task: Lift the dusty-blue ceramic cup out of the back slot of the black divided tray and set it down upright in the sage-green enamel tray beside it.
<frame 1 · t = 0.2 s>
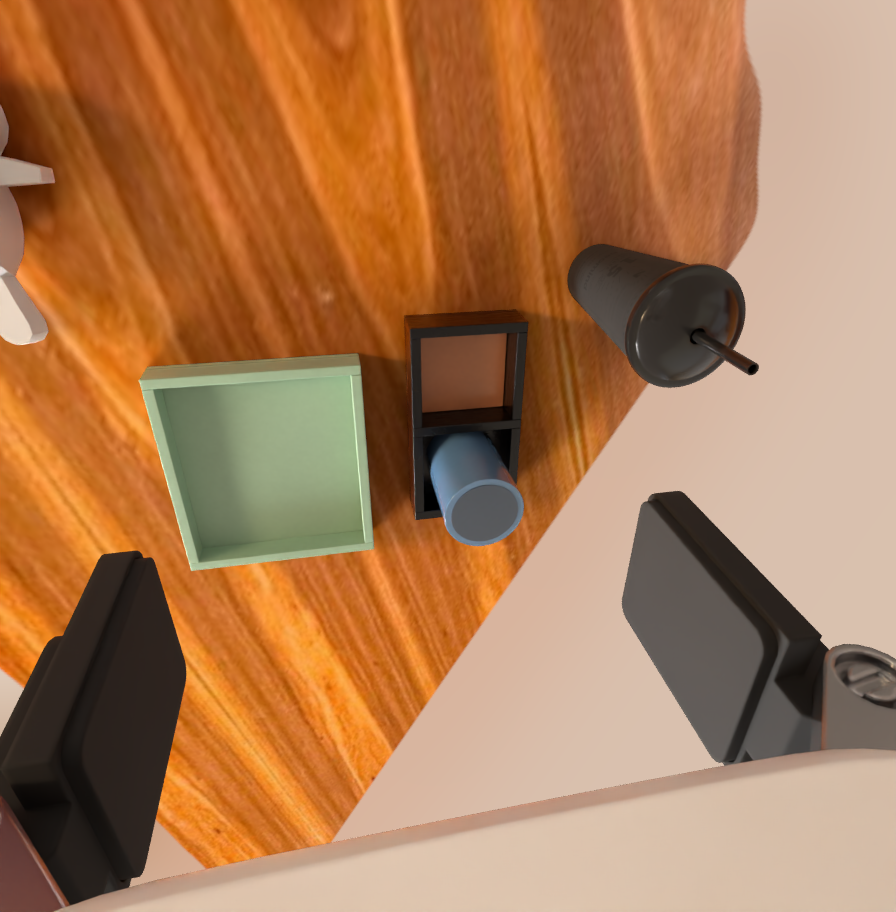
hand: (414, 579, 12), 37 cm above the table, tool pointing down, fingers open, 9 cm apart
drinking cup: (595, 274, 48), on the table
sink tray: (272, 458, 50), on the table
blue cup: (459, 455, 53), resting on black divided tray
black divided tray: (459, 410, 52), on the table
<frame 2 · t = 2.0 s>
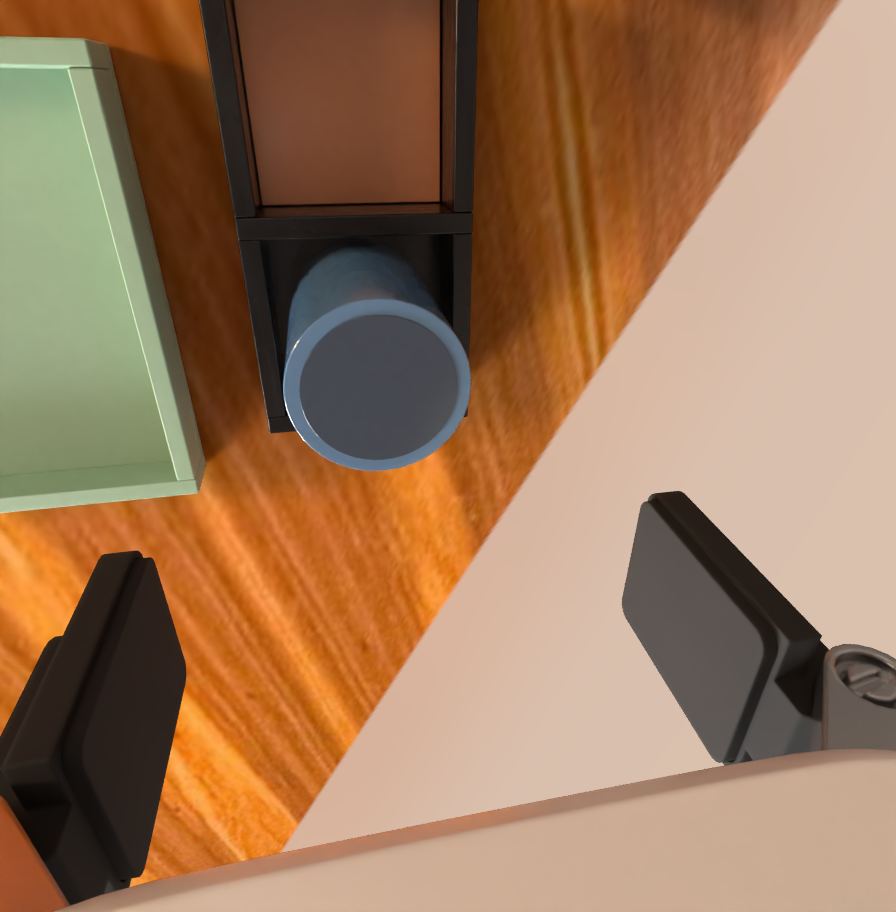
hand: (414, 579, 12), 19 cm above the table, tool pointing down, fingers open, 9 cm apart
blue cup: (360, 309, 27), resting on black divided tray
black divided tray: (353, 212, 26), on the table
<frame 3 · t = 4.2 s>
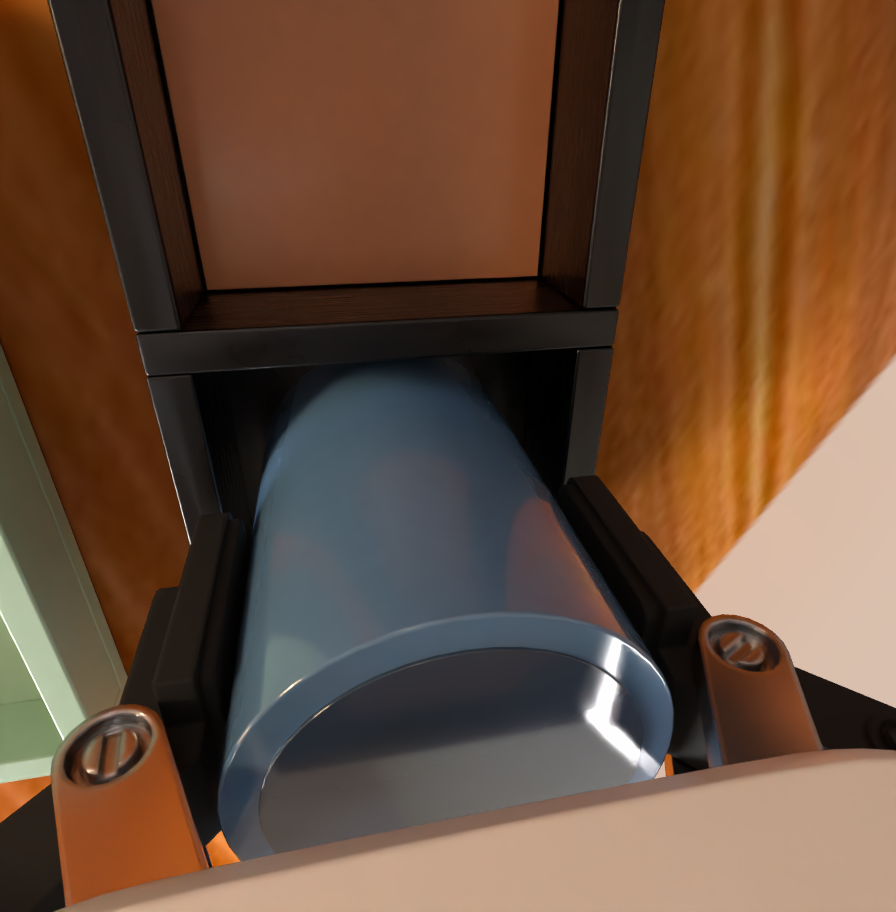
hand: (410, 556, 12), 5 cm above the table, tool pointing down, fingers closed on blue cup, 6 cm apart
blue cup: (388, 456, 16), point 1 cm above the table, touching black divided tray, gripper
black divided tray: (378, 295, 14), on the table
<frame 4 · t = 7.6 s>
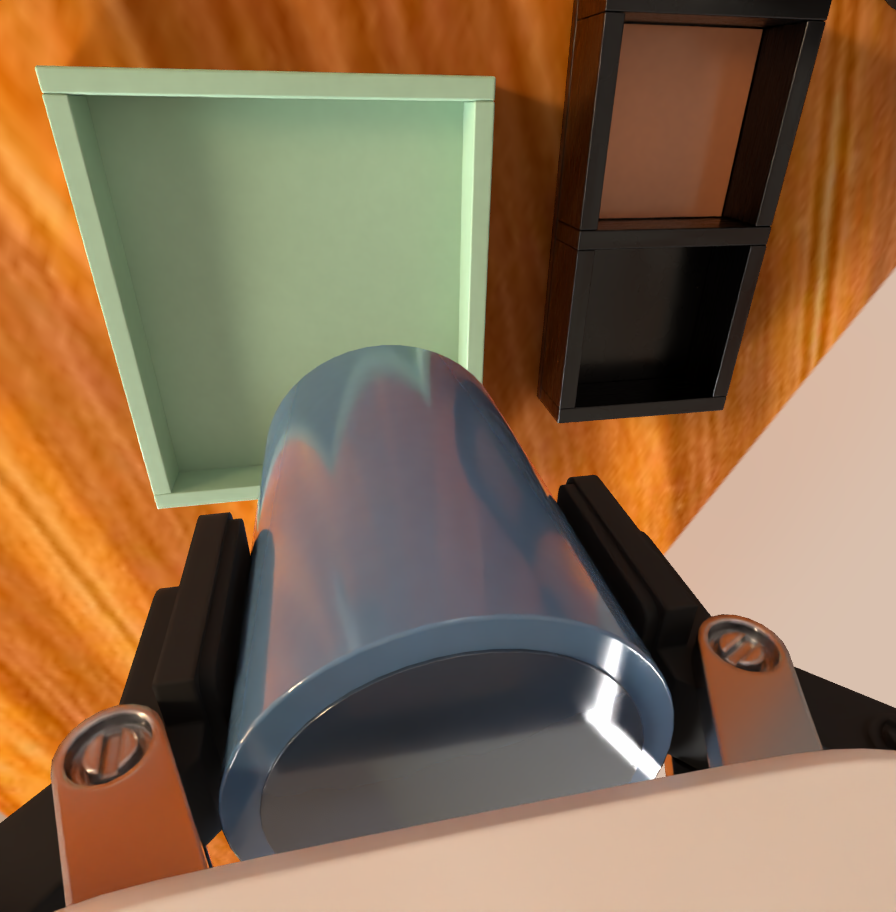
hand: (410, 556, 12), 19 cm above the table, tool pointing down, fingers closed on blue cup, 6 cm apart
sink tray: (306, 301, 28), on the table
blue cup: (388, 457, 16), point 14 cm above the table, touching gripper
black divided tray: (641, 225, 29), on the table
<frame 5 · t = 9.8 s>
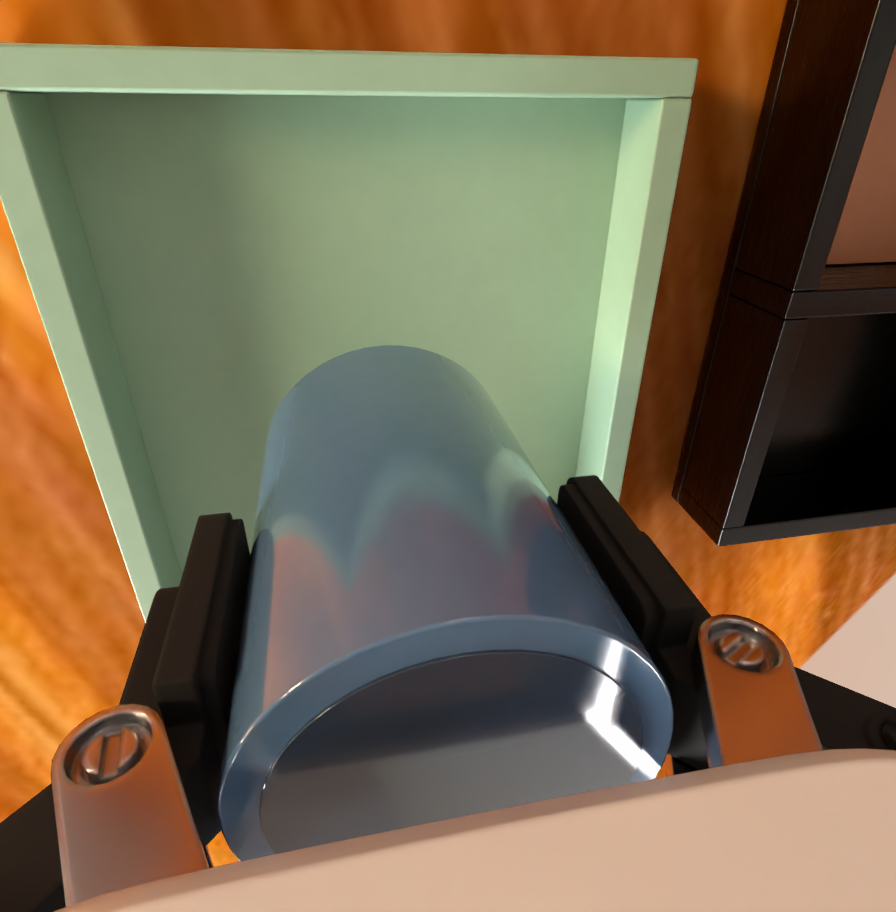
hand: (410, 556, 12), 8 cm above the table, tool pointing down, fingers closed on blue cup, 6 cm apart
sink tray: (374, 387, 19), on the table
blue cup: (388, 458, 16), point 4 cm above the table, touching gripper
black divided tray: (841, 272, 20), on the table
when the fingers open (5 cm above the table, at t = 11.3 s): blue cup stays where it is, resting on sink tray.
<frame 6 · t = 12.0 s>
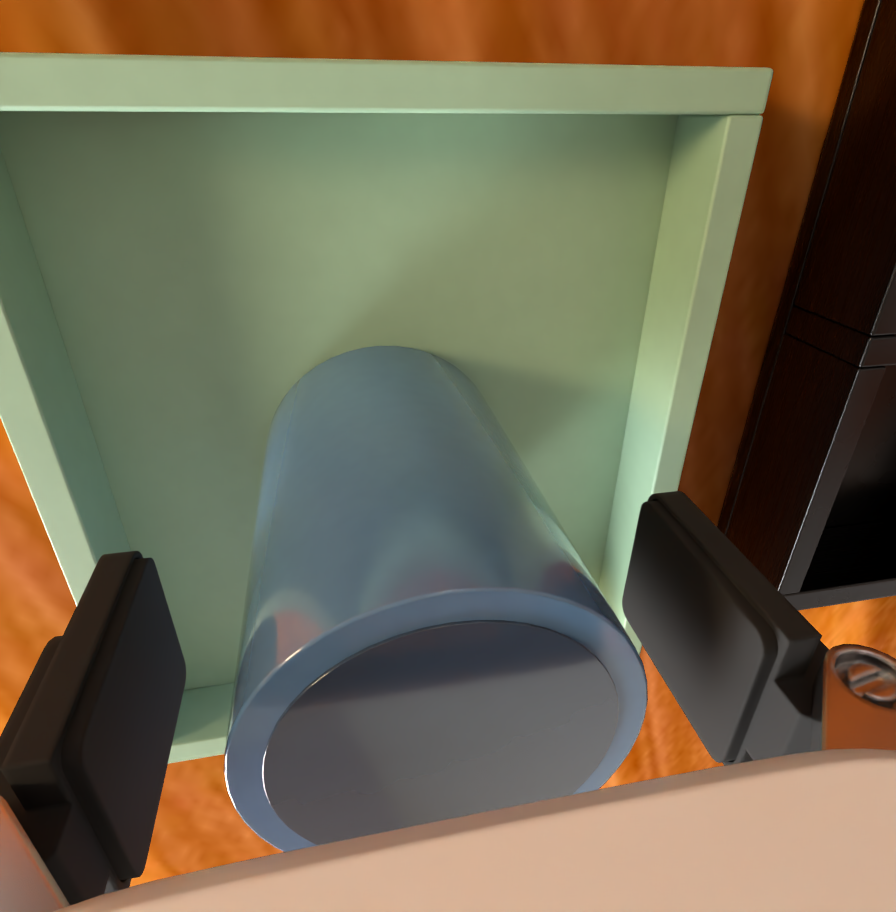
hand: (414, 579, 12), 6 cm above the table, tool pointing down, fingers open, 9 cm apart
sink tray: (382, 440, 17), on the table
blue cup: (384, 454, 16), point 1 cm above the table, touching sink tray
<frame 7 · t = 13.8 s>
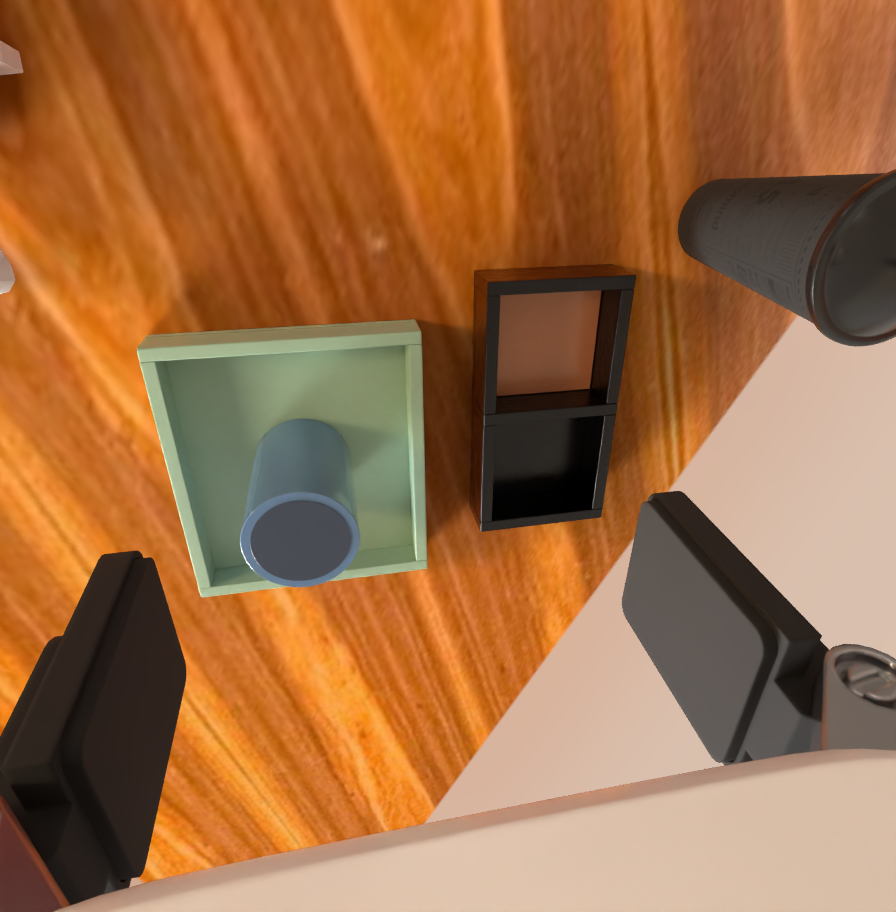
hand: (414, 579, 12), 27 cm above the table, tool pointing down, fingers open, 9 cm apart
drinking cup: (711, 220, 38), on the table
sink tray: (303, 455, 40), on the table
blue cup: (303, 460, 40), point 1 cm above the table, touching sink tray
black divided tray: (535, 395, 41), on the table
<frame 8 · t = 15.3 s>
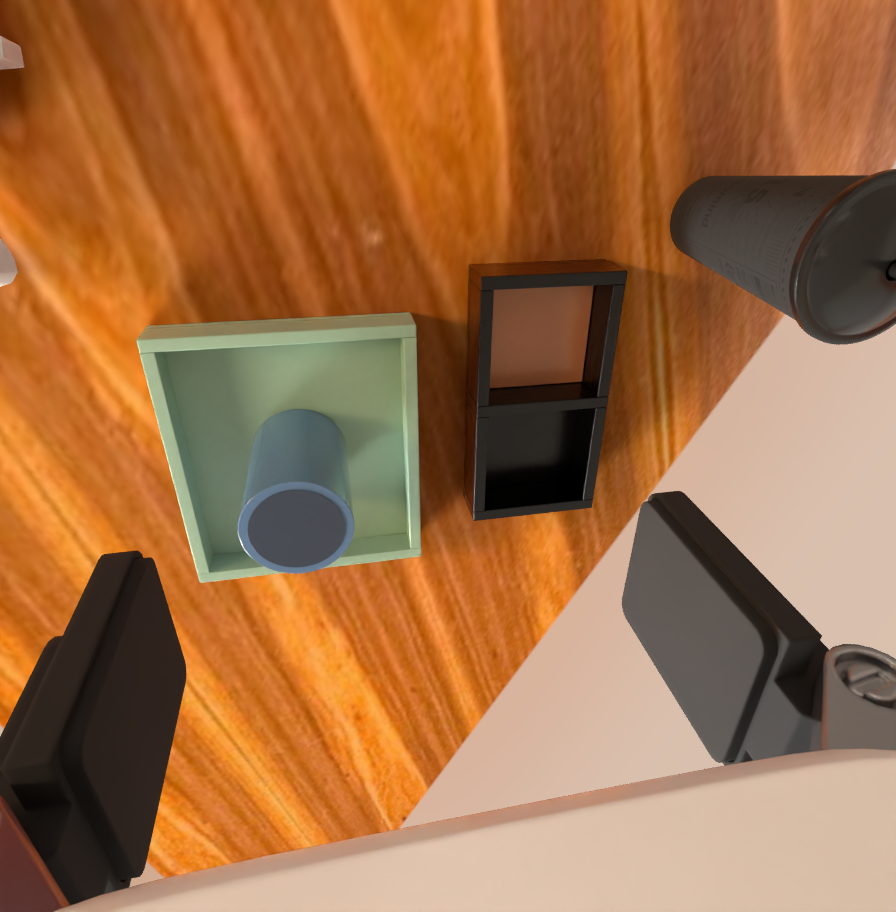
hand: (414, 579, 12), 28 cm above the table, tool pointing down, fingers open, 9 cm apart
drinking cup: (703, 216, 39), on the table
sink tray: (300, 444, 41), on the table
blue cup: (300, 450, 41), point 1 cm above the table, touching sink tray
black divided tray: (528, 387, 42), on the table
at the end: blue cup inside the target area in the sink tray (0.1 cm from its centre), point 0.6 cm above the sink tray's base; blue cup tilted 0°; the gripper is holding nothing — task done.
